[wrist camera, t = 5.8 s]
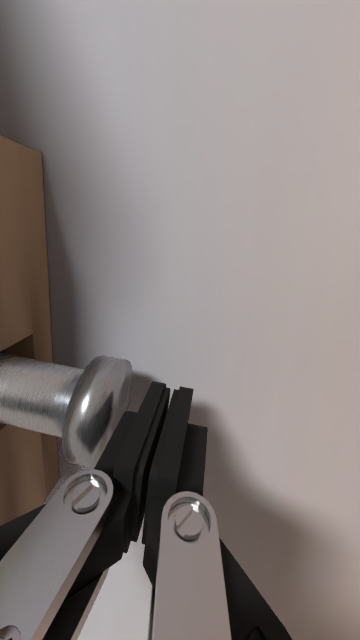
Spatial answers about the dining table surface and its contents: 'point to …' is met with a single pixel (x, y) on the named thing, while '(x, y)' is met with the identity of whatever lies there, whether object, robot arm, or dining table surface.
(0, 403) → the pin
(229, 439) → the dining table surface
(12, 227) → the block
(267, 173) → the dining table surface
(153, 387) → the robot arm
